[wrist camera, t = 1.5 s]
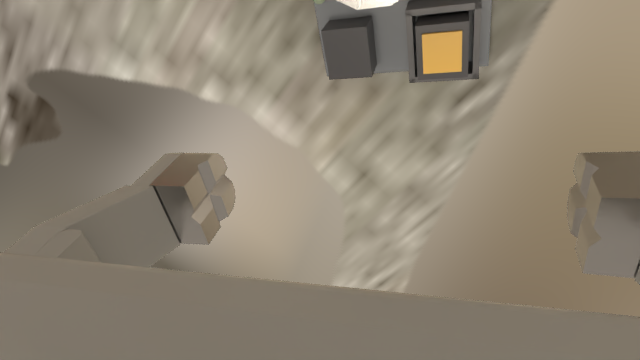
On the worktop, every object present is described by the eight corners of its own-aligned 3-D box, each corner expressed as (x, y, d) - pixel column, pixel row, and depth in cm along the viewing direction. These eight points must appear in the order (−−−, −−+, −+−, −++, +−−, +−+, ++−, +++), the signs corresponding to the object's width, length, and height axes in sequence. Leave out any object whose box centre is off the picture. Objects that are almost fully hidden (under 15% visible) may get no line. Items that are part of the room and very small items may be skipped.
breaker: (417, 16, 28) (415, 27, 26) (469, 11, 27) (469, 22, 25) (420, 68, 30) (417, 81, 28) (467, 65, 29) (467, 78, 27)
